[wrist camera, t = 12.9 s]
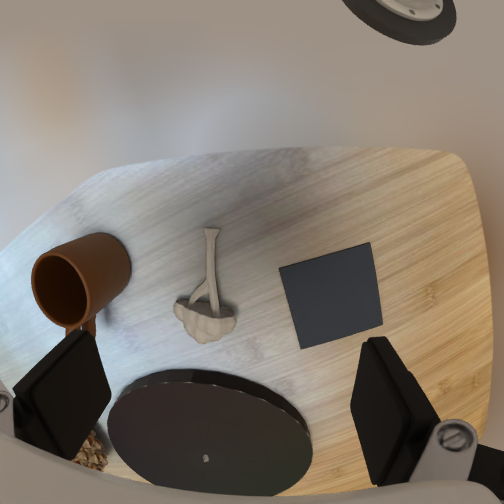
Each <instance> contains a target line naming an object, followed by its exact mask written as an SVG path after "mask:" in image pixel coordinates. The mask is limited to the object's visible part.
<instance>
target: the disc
mask: <svg viewBox="0 0 504 504" xmlns="http://www.w3.org/2000/svg"><path fill="white" fill-rule="evenodd" d="M107 427H108V435H109V437H110V440H111V443H112V445H113V447H114V448H115V450H116V452H117V453H118V455H119V456H120V457H121V458H122V460H123V461H124V462H125V463H126V464H127V465H128V466H129V467H130V468H131V469H132V470H134V471H135V472H136V473H137V474H139V475H140V476H141V477H143V478H144V479H146V480H147V481H149V482H151V483H152V484H154V485H157V486H162V487H168V488H174V489H180V490H186V491H194V492H202V493H211V494H222V495H237V496H274V495H277V494H280V493H282V492H283V491H285V490H287V489H289V488H291V487H292V486H293V485H295V484H296V483H297V482H298V481H299V480H301V479H302V478H303V476H304V475H305V474H306V472H307V471H308V469H309V467H310V465H311V462H312V459H313V446H312V444H311V441H310V433H309V431H308V428H307V425H306V423H305V421H304V419H303V418H302V417H301V415H300V414H299V412H298V411H297V410H296V409H295V408H294V407H293V406H292V405H291V404H289V403H288V402H287V401H286V400H285V399H283V398H282V397H281V396H279V395H277V394H275V393H274V392H272V391H270V390H268V389H267V388H265V387H263V386H260V385H258V384H255V383H253V382H250V381H247V380H245V379H242V378H239V377H234V376H230V375H226V374H222V373H218V372H209V371H200V370H171V371H166V372H160V373H155V374H151V375H148V376H146V377H144V378H141V379H139V380H136V381H135V382H134V383H132V384H131V385H129V386H128V387H127V388H125V389H124V391H123V392H122V394H121V395H120V396H119V398H118V399H117V401H116V402H115V404H114V406H113V407H112V408H111V410H110V412H109V416H108V420H107Z"/></svg>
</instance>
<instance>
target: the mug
mask: <svg viewBox="0 0 504 504" xmlns="http://www.w3.org/2000/svg"><path fill="white" fill-rule="evenodd" d="M129 277H130V262H129V258H128V255H127V253H126V251H125V249H124V248H123V246H122V245H121V244H120V243H119V242H118V241H117V240H116V239H115V238H113V237H112V236H109V235H107V234H103V233H94V234H90V235H87V236H84V237H81V238H78V239H75V240H73V241H70V242H68V243H65V244H62V245H60V246H57V247H55V248H53V249H51V250H49V251H48V252H46V253H44V254H42V255H41V256H40V257H39V258H38V259H37V260H36V262H35V264H34V266H33V269H32V274H31V285H32V291H33V294H34V297H35V300H36V302H37V304H38V306H39V307H40V309H41V310H42V312H43V313H44V314H45V315H46V317H47V318H48V319H50V320H51V321H52V322H53V323H55V324H57V325H59V326H61V327H64V328H66V335H65V337H66V336H67V335H68V334H69V333H70V332H72V331H73V330H74V329H80V330H81V327H82V330H87V331H89V332H90V333H91V335H93V336H94V338H95V337H96V324H95V318H96V314H97V313H98V312H99V311H100V310H101V309H103V308H104V307H105V306H106V305H107V304H108V303H109V302H111V301H112V300H113V299H114V298H115V297H116V296H117V295H118V294H120V293H121V292H122V290H123V289H124V288H125V286H126V285H127V283H128V280H129Z"/></svg>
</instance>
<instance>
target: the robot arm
mask: <svg viewBox="0 0 504 504" xmlns="http://www.w3.org/2000/svg"><path fill="white" fill-rule="evenodd" d="M376 1H377V2H378V3H379V4H381V5H382V6H384V7H385V8H386V9H388V10H390V11H391V12H393V13H395V14H397V15H399V16H402V17H404V18H407V19H410V20H415V21H429V20H432V19H434V18H436V17H437V16H438V15H439V14H440V13H441V11H442V8H443V0H376ZM12 389H13V391H14V393H15V395H16V397H15V398H14V399H13V397H12V395H11V394H10V393H8V392H6V391H0V504H504V451H501V450H497V449H494V448H490V447H487V446H484V445H481V444H478V435H477V432H476V430H475V429H474V428H473V426H472V425H470V424H469V423H467V422H465V421H463V420H459V419H447V420H444V421H441V420H440V418H439V417H438V415H437V413H436V412H435V410H434V408H433V407H432V405H431V403H430V402H429V400H428V398H427V397H426V395H425V393H424V392H423V390H422V389H421V387H420V385H419V384H418V382H417V380H416V379H415V377H414V376H413V374H412V373H411V372H410V371H408V370H407V368H406V367H405V365H404V364H403V362H402V361H401V359H400V357H399V356H398V354H397V353H396V351H395V350H394V348H393V347H392V345H391V343H390V342H389V340H388V339H387V338H386V337H385V336H382V337H370V338H368V340H367V342H363V344H362V348H361V353H360V359H359V364H358V369H357V374H356V379H355V384H354V389H353V393H352V398H351V403H350V408H351V413H352V417H353V420H354V423H355V427H356V430H357V433H358V437H359V440H360V444H361V447H362V451H363V454H364V458H365V461H366V465H367V468H368V472H369V476H370V480H371V483H372V484H373V485H376V484H377V486H378V487H375V488H368V489H362V490H355V491H348V492H339V493H330V494H318V495H303V496H237V495H222V494H211V493H202V492H194V491H186V490H180V489H174V488H168V487H162V486H157V485H152V484H147V483H143V482H138V481H134V480H130V479H126V478H122V477H118V476H115V475H111V474H108V473H104V472H101V471H98V470H95V469H91V468H88V467H85V466H82V465H80V464H77V463H74V462H71V460H73V459H75V457H76V456H77V454H78V452H79V451H80V449H81V447H82V446H83V444H84V442H85V441H86V439H87V437H88V436H89V434H90V432H91V431H92V429H93V427H94V426H95V424H96V422H97V421H98V419H99V418H100V416H101V414H102V413H103V411H104V410H105V408H106V406H107V405H108V403H109V402H110V400H111V390H110V387H109V384H108V381H107V378H106V375H105V372H104V368H103V365H102V362H101V359H100V355H99V352H98V348H97V345H96V341H95V338H94V336H93V335H91V333H90V332H89V331H87V330H80V329H74V330H73V331H72V332H70V333H69V334H68V335H67V336H66V337H65V338H64V339H63V340H62V341H61V342H60V343H58V344H57V345H56V346H55V347H54V348H53V349H52V350H51V351H50V352H49V353H48V354H47V355H46V356H45V357H44V358H43V359H42V360H40V361H39V362H38V363H37V364H36V365H35V366H34V367H33V368H32V369H31V370H30V371H29V372H28V373H27V374H26V375H25V376H24V377H23V378H22V379H21V380H20V381H19V382H18V383H17V384H16V385H15V386H14V387H13V388H12Z"/></svg>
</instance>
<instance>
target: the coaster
mask: <svg viewBox="0 0 504 504" xmlns="http://www.w3.org/2000/svg"><path fill="white" fill-rule="evenodd" d="M279 271H280V275H281V278H282V282H283V285H284V289H285V293H286V296H287V300H288V303H289V307H290V311H291V314H292V318H293V322H294V325H295V329H296V333H297V336H298V340H299V344H300V348H301V349H305V348H308V347H312V346H316V345H319V344H323V343H326V342H330V341H333V340H336V339H340V338H343V337H346V336H350V335H353V334H356V333H359V332H362V331H365V330H368V329H371V328H374V327H377V326H380V325H383V321H382V313H381V305H380V298H379V291H378V284H377V278H376V272H375V266H374V260H373V255H372V249H371V244H370V242H369V243H366V244H362V245H359V246H355V247H352V248H349V249H345V250H342V251H338V252H335V253H331V254H328V255H324V256H321V257H317V258H314V259H310V260H307V261H303V262H300V263H296V264H293V265H289V266H285V267H282V268H279Z"/></svg>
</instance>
